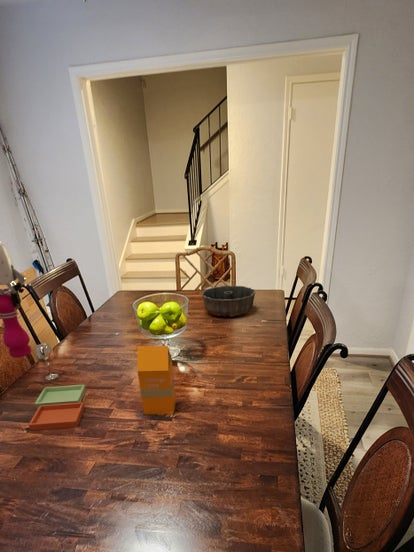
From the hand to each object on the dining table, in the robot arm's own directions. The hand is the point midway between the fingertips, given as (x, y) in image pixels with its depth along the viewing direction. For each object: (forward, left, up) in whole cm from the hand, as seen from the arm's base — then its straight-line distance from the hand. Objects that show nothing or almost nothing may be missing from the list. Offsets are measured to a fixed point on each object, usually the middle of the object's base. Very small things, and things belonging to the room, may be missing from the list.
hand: (5, 306), depth 108 cm
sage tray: (+10, -5, -29) cm, 32 cm away
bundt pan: (+73, +70, -30) cm, 106 cm away
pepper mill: (0, 0, -15) cm, 15 cm away
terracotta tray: (+12, -17, -29) cm, 36 cm away
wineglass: (+2, +11, -30) cm, 32 cm away
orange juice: (+42, -15, -30) cm, 54 cm away
